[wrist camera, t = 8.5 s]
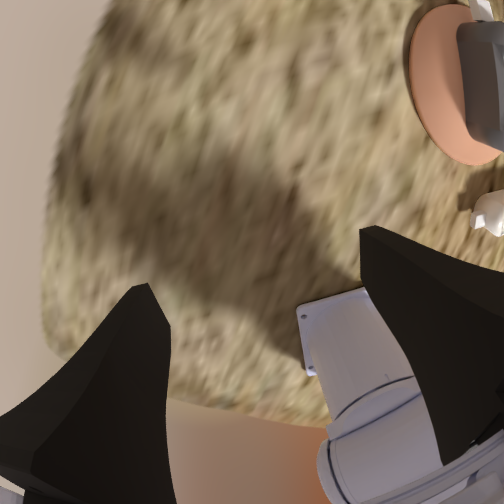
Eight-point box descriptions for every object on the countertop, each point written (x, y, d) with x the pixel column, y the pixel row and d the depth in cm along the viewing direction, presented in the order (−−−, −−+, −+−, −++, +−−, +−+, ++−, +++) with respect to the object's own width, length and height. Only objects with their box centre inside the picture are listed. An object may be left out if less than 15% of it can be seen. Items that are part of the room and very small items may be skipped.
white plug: (517, 185, 20) (536, 196, 18) (513, 210, 21) (531, 223, 19) (464, 198, 20) (486, 212, 18) (461, 228, 22) (480, 243, 19)
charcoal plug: (493, 140, 17) (524, 153, 14) (465, 143, 17) (499, 157, 14) (476, 6, 11) (509, 4, 8) (446, -3, 11) (479, -9, 8)
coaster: (514, 156, 18) (519, 158, 18) (416, 172, 18) (421, 175, 18) (504, 21, 12) (509, 21, 11) (391, -7, 12) (395, -9, 11)
